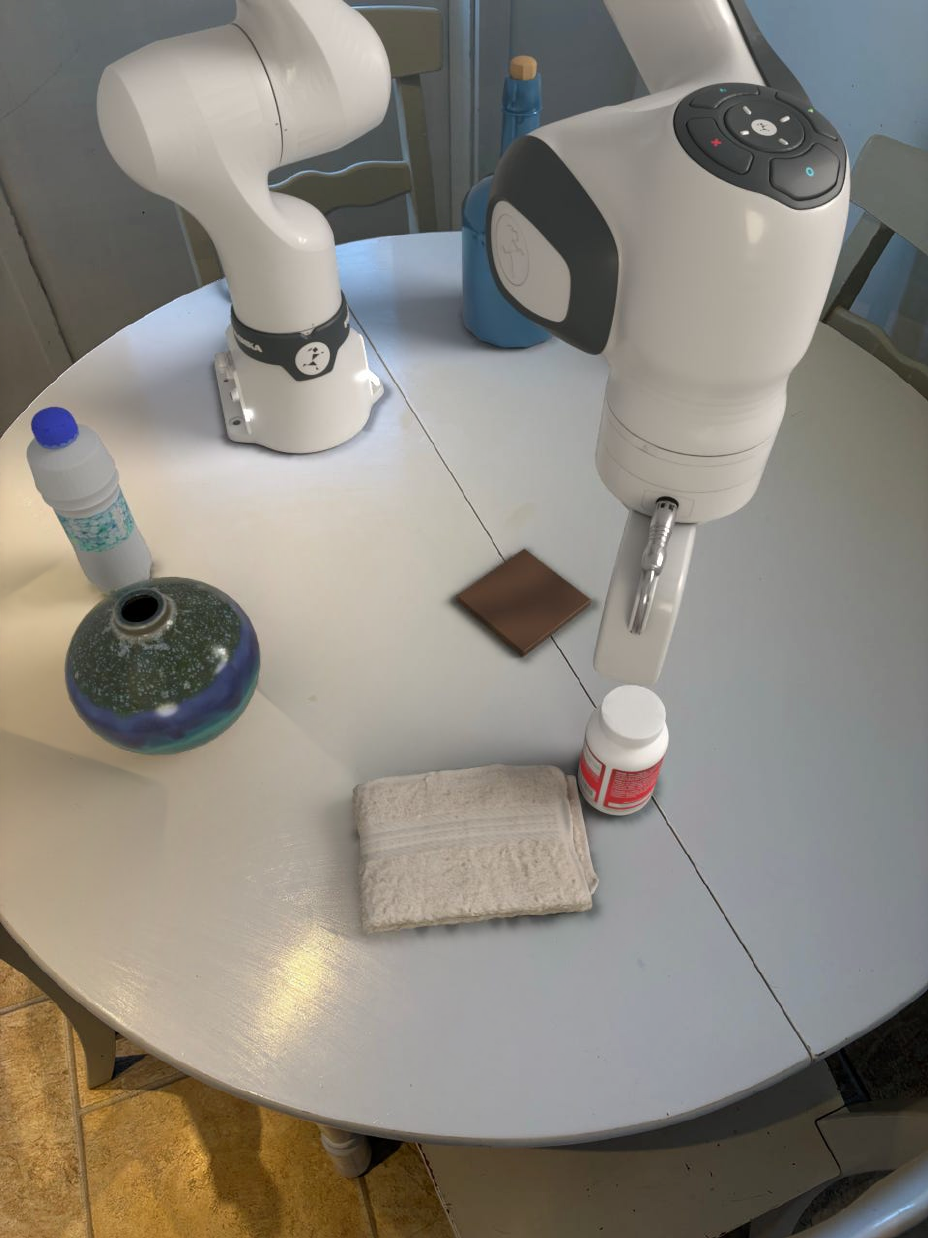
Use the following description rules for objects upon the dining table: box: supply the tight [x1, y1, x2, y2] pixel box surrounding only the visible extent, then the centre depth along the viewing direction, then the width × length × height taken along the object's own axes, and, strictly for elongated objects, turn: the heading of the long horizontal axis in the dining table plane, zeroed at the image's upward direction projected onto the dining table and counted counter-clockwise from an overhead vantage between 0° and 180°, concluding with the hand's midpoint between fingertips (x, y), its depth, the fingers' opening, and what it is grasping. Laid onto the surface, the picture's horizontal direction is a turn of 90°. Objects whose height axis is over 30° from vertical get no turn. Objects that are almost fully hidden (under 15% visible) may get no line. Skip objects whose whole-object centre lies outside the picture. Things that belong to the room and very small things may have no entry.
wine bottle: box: [460, 55, 554, 348], centre depth 102 cm, size 14×13×30 cm
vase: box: [63, 576, 261, 756], centre depth 73 cm, size 15×15×13 cm
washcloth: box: [351, 762, 601, 935], centre depth 68 cm, size 12×18×3 cm, turn 97°
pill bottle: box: [577, 684, 670, 816], centre depth 68 cm, size 6×6×11 cm
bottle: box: [26, 406, 153, 596], centre depth 79 cm, size 7×7×20 cm
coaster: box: [456, 548, 592, 657], centre depth 84 cm, size 9×9×1 cm
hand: (640, 604), depth 58 cm, fingers open, 8 cm apart
